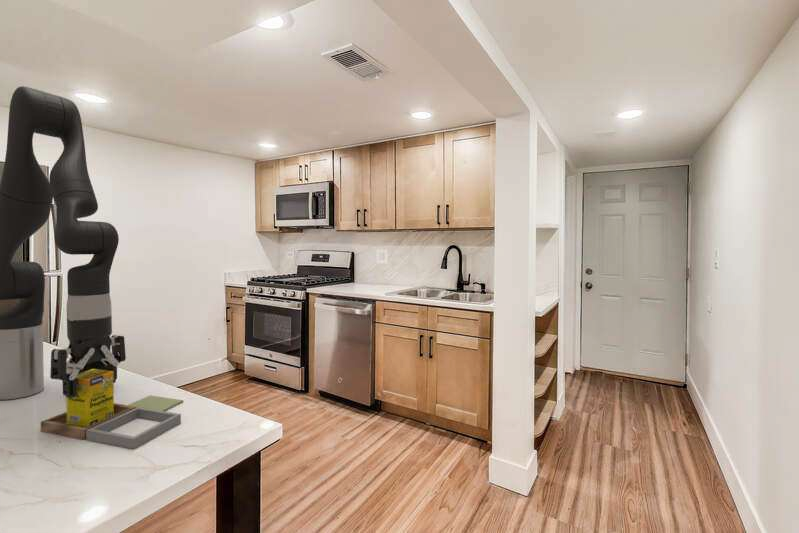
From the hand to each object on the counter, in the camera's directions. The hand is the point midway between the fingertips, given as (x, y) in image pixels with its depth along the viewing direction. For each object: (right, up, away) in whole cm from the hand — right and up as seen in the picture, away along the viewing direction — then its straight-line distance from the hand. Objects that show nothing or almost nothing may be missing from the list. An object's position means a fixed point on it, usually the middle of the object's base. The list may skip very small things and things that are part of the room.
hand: (91, 389), depth 85 cm
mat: (+7, -7, +10) cm, 14 cm away
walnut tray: (-1, -7, +1) cm, 7 cm away
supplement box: (-1, -8, +1) cm, 8 cm away
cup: (-13, -6, +17) cm, 22 cm away
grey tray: (+11, -8, -2) cm, 14 cm away
